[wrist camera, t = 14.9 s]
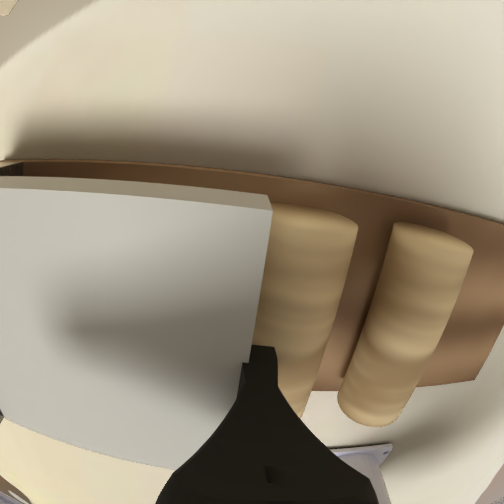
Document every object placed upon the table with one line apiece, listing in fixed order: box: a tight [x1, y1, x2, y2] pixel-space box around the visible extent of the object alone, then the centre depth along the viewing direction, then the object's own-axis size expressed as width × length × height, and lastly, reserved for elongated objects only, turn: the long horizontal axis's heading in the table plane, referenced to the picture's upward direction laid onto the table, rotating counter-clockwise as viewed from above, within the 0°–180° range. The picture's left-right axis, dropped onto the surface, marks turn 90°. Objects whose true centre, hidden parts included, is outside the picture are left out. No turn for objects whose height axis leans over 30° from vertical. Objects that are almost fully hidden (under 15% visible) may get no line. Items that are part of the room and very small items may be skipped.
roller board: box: [0, 159, 504, 427], centre depth 13 cm, size 12×34×8 cm, turn 82°
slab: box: [0, 176, 273, 470], centre depth 10 cm, size 12×12×2 cm
